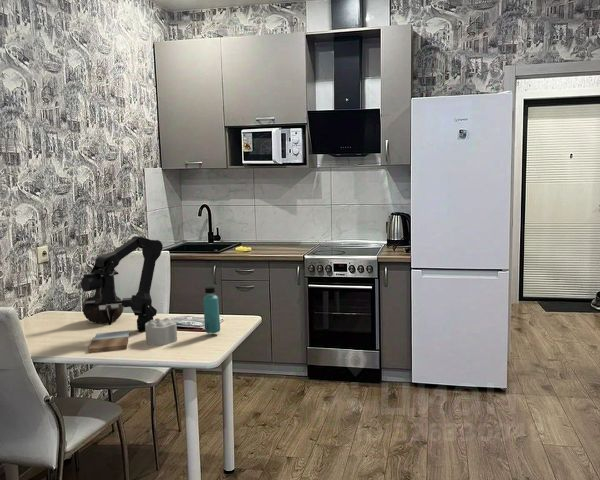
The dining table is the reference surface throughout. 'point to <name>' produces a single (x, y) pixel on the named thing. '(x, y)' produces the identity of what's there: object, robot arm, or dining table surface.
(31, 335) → the dining table surface
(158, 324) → the lumpy-topped squat cylinder
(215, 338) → the dining table surface
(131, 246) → the robot arm
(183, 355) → the dining table surface
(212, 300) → the beverage bottle
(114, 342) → the walnut floor board
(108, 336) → the floor tile
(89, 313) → the brown flower vase
